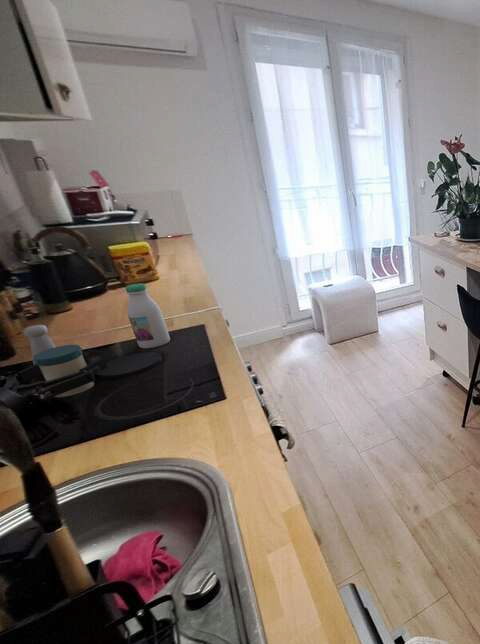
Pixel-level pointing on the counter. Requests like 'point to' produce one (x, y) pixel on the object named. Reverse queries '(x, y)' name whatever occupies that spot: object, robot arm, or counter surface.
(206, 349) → the counter surface
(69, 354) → the lid
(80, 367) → the jar
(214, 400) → the counter surface
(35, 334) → the salt shaker
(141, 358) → the trivet
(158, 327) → the milk bottle
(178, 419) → the counter surface
